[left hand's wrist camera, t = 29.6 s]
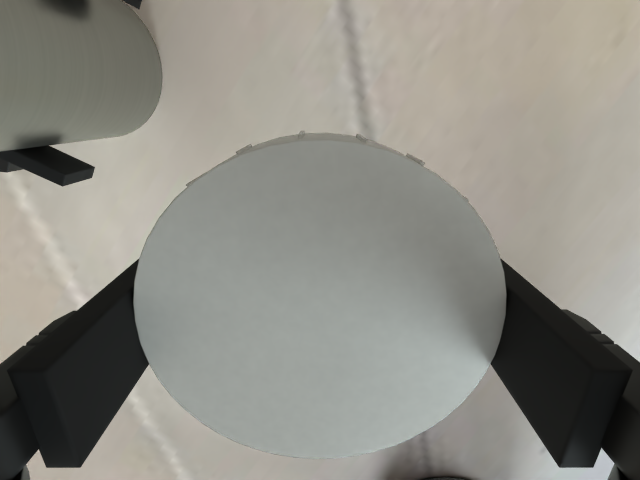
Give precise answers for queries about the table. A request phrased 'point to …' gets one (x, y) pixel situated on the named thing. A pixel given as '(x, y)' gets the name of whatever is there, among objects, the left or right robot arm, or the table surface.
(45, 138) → the jar
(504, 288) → the lid
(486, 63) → the table surface
